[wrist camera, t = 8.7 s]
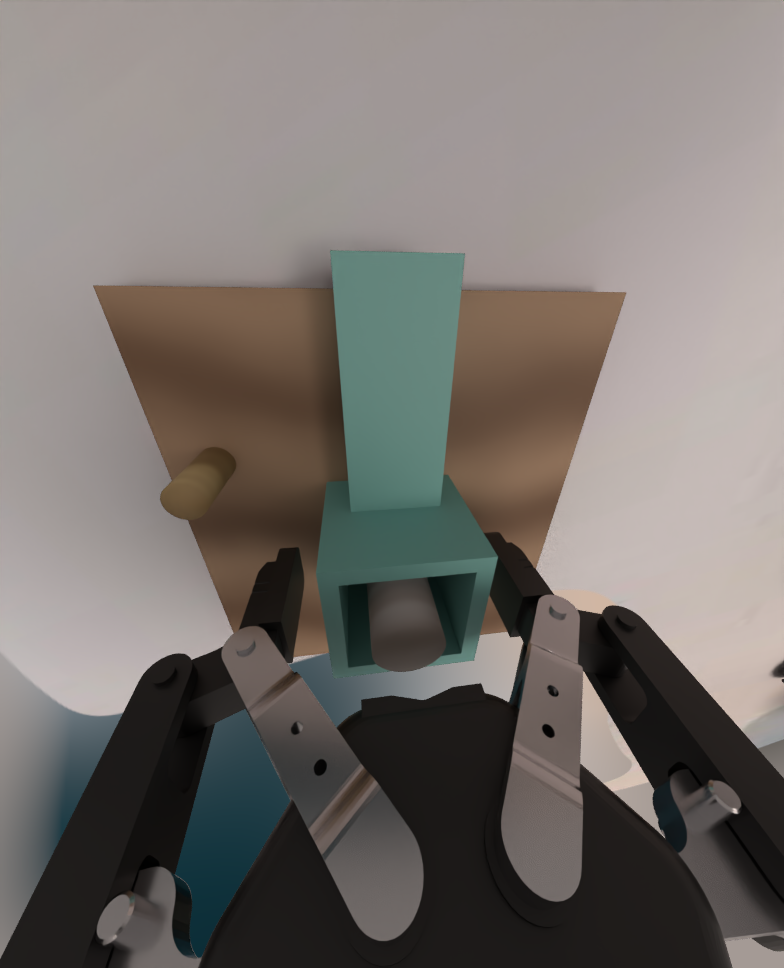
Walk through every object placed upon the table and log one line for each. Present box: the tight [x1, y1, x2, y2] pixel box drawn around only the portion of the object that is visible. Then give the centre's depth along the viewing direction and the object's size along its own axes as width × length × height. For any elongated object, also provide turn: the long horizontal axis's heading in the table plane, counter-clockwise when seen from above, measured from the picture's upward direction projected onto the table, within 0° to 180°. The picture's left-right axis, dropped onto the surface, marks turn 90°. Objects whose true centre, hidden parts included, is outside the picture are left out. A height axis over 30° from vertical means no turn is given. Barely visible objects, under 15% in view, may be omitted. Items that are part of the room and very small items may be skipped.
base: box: [93, 286, 626, 672], centre depth 13 cm, size 20×18×8 cm
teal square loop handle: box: [316, 250, 498, 678], centre depth 11 cm, size 14×6×6 cm, turn 0°
